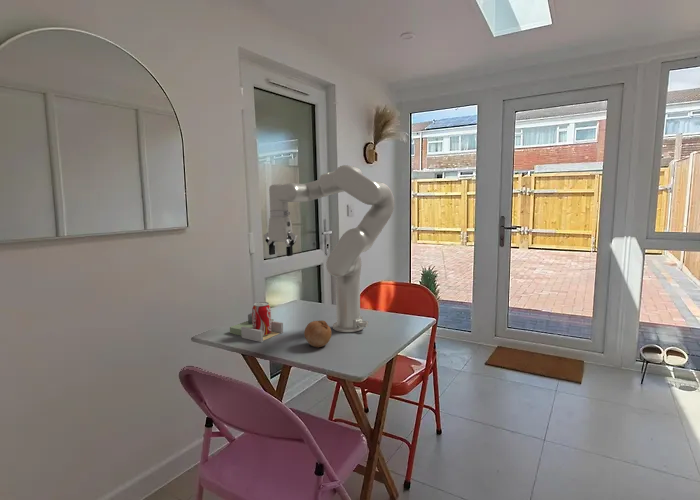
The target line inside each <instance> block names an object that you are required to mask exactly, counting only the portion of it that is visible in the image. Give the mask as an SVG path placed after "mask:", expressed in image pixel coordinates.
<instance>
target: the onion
mask: <svg viewBox="0 0 700 500" xmlns="http://www.w3.org/2000/svg"><path fill="white" fill-rule="evenodd" d="M303 335H304V339H305V340H306V342H307V343H308V344H309V345H310V346H311V347H313V348H321V347H325V346H326V345H328V344H329V342H330V340H331V338H332V329H331V327H330V326H329V325H328V323H327V322H326V321H325V320H313V321H310V322H309V323H307V325H306V326H305V328H304V334H303Z"/></svg>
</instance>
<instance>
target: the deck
mask: <svg viewBox="0 0 700 500" xmlns="http://www.w3.org/2000/svg"><path fill="white" fill-rule="evenodd" d="M271 327H272V328H271V333H270V334H269V335H267V336H263V331H262V330H257V329H253V325H252V312H250V313H248V314H247V320H246V321H244V322H241V323H238V324H235V325H231V326H229V334H233V335H236V336H241V339H245V340H251V341H255V342H258V343H259V342H260V343H263V342H264V341H266V340H268V339H271V338H273V337H275V336H277V335H280V334H283V333H284V322H281V321H276V320H274V319H272V318H271Z"/></svg>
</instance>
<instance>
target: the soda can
mask: <svg viewBox="0 0 700 500" xmlns="http://www.w3.org/2000/svg"><path fill="white" fill-rule="evenodd" d="M251 313H252V325H253V329H257V330H262V331H263V336H267V335H269V334H270V333H271V328H272V327H271V319H272V309H271V306H270V302H267V301H259V302H255V303H253V306H252V308H251Z"/></svg>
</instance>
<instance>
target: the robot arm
mask: <svg viewBox="0 0 700 500" xmlns="http://www.w3.org/2000/svg"><path fill="white" fill-rule="evenodd" d="M318 178H319V179H317V180H313V181H309V182H306V183H297V182H296V183H293V182H292V183H291V182H290V183H285V184H282V183H281V184H280V183H279V184H271V185H269V189H268V193H269V216H270V217H269V218H268V219H269V220H268V226H267V227H268V232H266V233H265V234H264V235H263V238H264V239H265V242H266V244H267V246H268V255H269V256H273V255H276V245H275V243H276V242H277V243H278V242H279V243H281V242H282V243H285V244H286V247H285V251H286V253H285V254H286V257H291V256H293V255H294V254H293V253H294V252H293V250H294V249H293V247H294V246H295V244H296V242H297V241H296V240H297V238H298V235H296V234H295V233H294V232H293V224H292V221H291V217H289V215H291V213H290V211H289V203H306V202H310V201H314V200H319V199H322V198H324V197H328V196H331V195H335V194H339V193H344V192H345V193H347V194H348V195H350V196H352V198H354V199H356V200H358V201H359V202H361V203H363V204H364V205H370V208H369V210H368V211H367V212H366V213H365V214H364V216H363V218H362V220H361V221H360V222H359V224H358V225H356V227H355V228H354V227H353V228H350V229H348V230H346V231H345V232H344V233H343V234H342V235H341V236H340V238H339V240H338V241H337V243H336V244H335V245H334V247H333V249H332V251H331V252H330V253H329V255H328V257H327V259H326V264H325V265H326V266H325V267H326V270H327V272H328V274H329V275H331V277H335V279H336V280H335V303H336V304H335V306H336V309H335V310H336V316H335V317H336V322H335V323H333V324H332V329H333V330H335V331H337V332H339V333H355V332H359V331H362V330H364V328H368V327H369V321H368V320H364V319H363V316H362V315H361V271H362V258H361V254H362V253H365V252H367V251H368V250H370V249H371V248H372V246H373V244H374V243H375V241H376V240H377V238H378V237H379V235H380V234H381V233H382V231H383V230H384V228H385V226H386V224H387V223H388V222H389V221H390V218H391V217H392V215H393V213H394V209H395V197H394V194H393V192H392V191H393V190H392V189H391V188H390V187H389V186H388V185H387V184H386V183H383V182H381V181H374V180H372V179H370V178H369V177H367V176H365V175H364V174H363V171H362V170H361V169H360V168H359V167H356V166H354V165H348V164H343V165H340V166H339V167H337V168H336V169H335V170H334V171H330V172H327V173H323V174H320V176H319V177H318Z"/></svg>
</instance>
